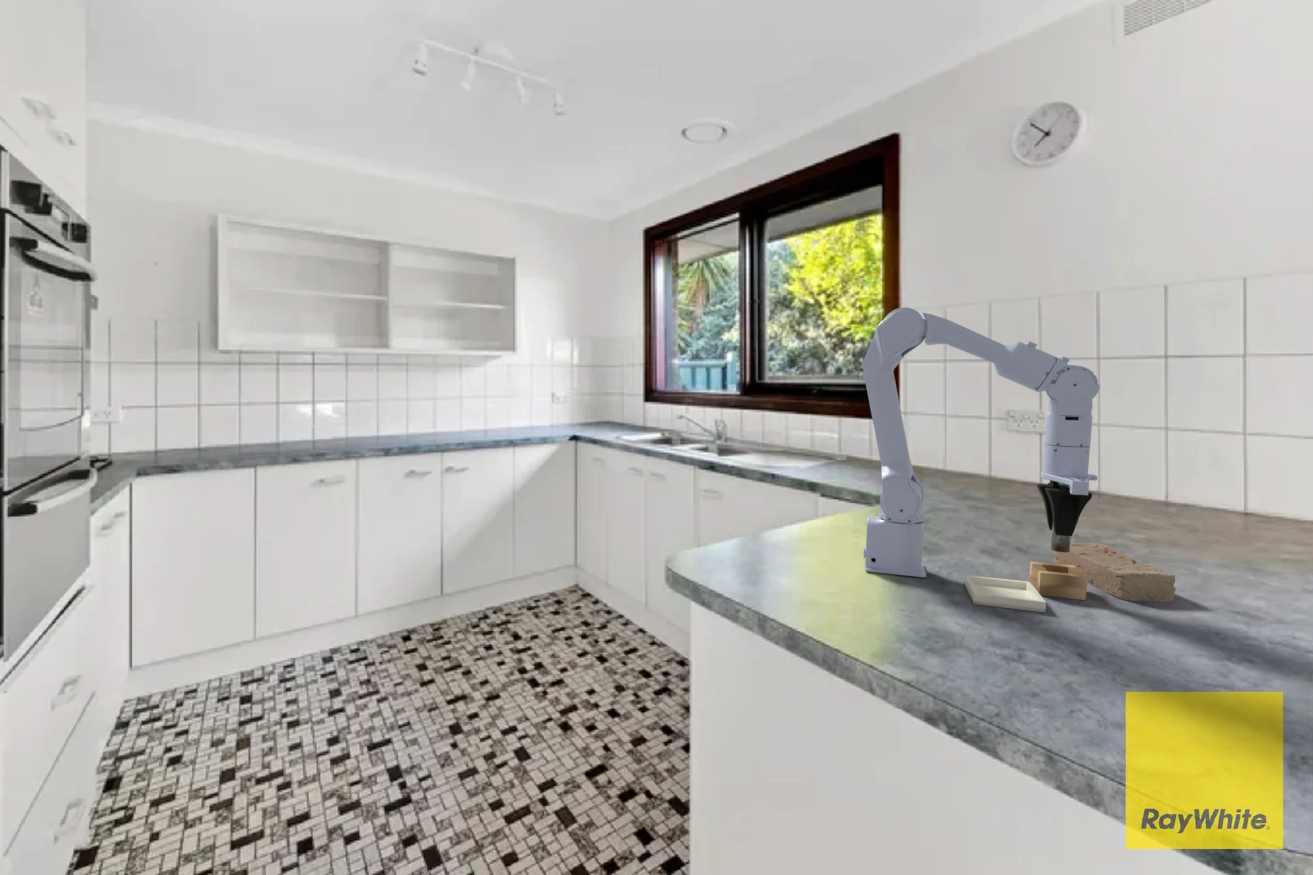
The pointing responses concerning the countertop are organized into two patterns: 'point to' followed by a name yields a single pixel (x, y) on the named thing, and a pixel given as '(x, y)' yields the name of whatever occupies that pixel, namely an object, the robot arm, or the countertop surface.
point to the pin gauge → (1060, 542)
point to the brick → (1118, 573)
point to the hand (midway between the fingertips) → (1060, 532)
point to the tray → (1004, 593)
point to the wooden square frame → (1058, 580)
